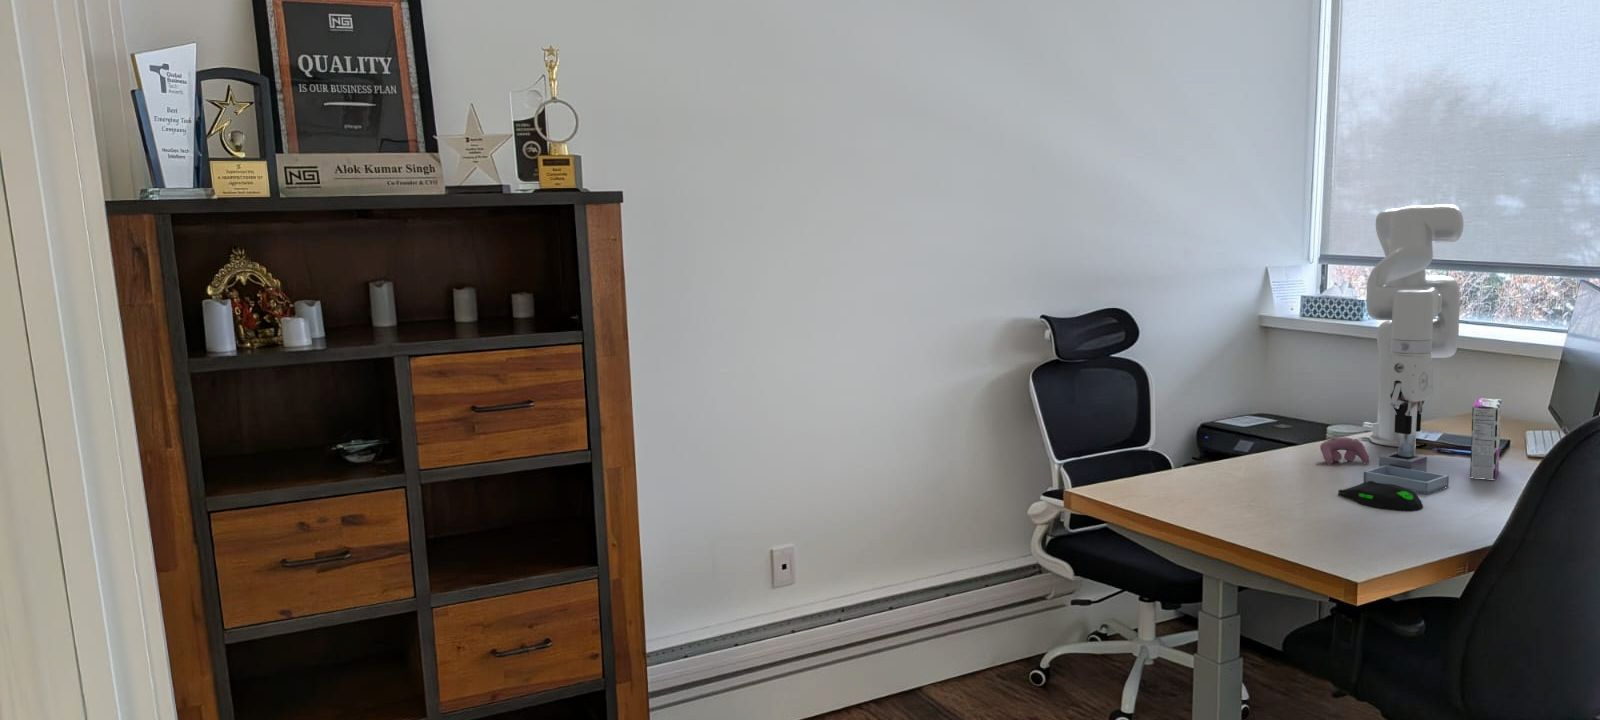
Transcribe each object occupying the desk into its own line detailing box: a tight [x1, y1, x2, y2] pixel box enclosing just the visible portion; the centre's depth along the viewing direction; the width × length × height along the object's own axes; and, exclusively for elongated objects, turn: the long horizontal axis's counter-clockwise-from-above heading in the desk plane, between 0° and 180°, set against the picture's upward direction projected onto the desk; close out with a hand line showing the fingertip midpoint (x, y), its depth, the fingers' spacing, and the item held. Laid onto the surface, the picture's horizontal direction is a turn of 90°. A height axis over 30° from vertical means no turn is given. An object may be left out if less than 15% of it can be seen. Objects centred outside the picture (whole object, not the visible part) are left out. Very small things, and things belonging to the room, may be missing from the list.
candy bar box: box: [1469, 397, 1502, 480], centre depth 229 cm, size 11×5×16 cm, turn 143°
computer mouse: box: [1337, 481, 1424, 512], centre depth 212 cm, size 11×16×4 cm
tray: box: [1362, 465, 1450, 495], centre depth 223 cm, size 13×9×2 cm
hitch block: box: [1378, 451, 1428, 472], centre depth 232 cm, size 7×7×4 cm
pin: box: [1397, 398, 1421, 457], centre depth 222 cm, size 5×5×13 cm
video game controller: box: [1319, 436, 1370, 466], centre depth 245 cm, size 10×5×7 cm, turn 85°
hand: (1407, 431), depth 222 cm, fingers closed on pin, 3 cm apart
